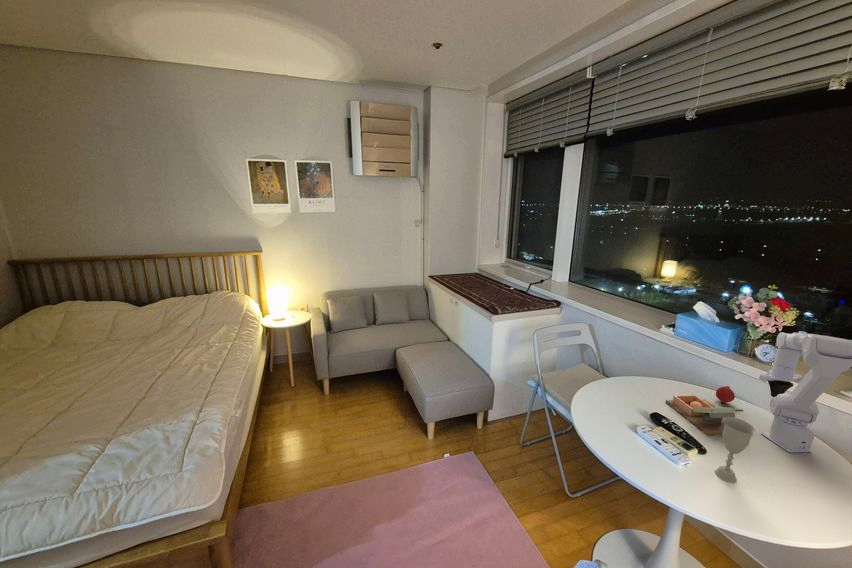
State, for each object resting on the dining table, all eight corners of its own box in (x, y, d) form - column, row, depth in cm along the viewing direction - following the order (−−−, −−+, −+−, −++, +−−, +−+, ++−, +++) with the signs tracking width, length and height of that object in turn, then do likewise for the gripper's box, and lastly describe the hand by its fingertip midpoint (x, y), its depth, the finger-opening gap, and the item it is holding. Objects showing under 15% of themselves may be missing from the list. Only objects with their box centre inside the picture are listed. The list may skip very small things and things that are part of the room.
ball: (696, 409, 132) (705, 413, 128) (687, 409, 132) (695, 414, 128) (696, 399, 132) (705, 403, 128) (687, 399, 132) (695, 403, 128)
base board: (752, 433, 119) (755, 421, 118) (706, 434, 119) (709, 422, 117) (704, 401, 139) (707, 390, 137) (665, 402, 138) (667, 391, 137)
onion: (718, 405, 136) (722, 387, 134) (711, 397, 141) (715, 380, 139) (735, 407, 134) (740, 390, 132) (727, 399, 140) (731, 383, 138)
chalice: (743, 489, 96) (758, 436, 92) (713, 479, 99) (726, 427, 95) (737, 472, 102) (751, 421, 98) (709, 463, 106) (721, 414, 101)
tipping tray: (761, 416, 118) (758, 407, 119) (713, 417, 118) (710, 408, 119) (737, 415, 127) (734, 406, 128) (691, 416, 127) (689, 407, 128)
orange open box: (712, 415, 128) (714, 408, 127) (690, 416, 127) (691, 408, 127) (693, 402, 136) (695, 395, 136) (672, 402, 136) (673, 395, 135)
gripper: (791, 359, 126) (782, 391, 129) (754, 360, 126) (746, 391, 129) (813, 368, 119) (802, 401, 122) (774, 369, 119) (765, 402, 122)
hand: (775, 397), depth 125 cm, fingers closed
